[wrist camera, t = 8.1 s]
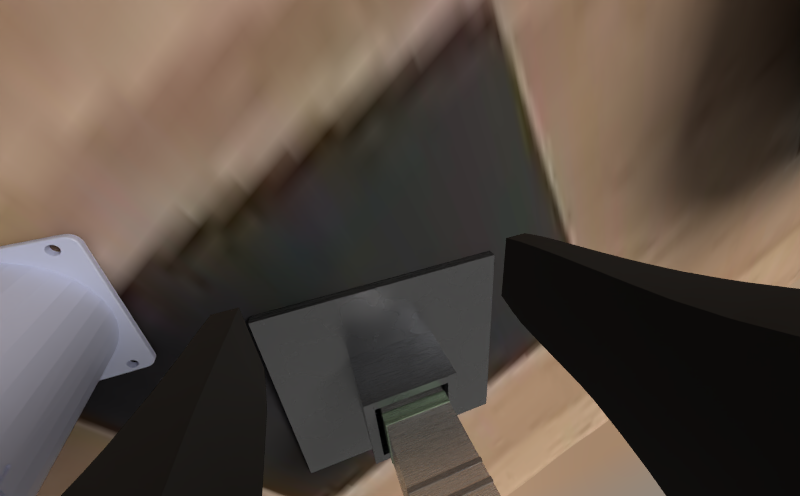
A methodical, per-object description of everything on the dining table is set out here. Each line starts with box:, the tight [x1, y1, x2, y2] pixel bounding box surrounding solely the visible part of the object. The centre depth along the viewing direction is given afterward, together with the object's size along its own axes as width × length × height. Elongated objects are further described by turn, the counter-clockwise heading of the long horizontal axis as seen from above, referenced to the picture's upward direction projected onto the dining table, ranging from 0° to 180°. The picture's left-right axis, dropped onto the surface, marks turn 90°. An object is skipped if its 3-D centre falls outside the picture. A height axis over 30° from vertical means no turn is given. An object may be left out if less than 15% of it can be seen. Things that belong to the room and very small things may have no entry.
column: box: [380, 385, 500, 496], centre depth 19 cm, size 4×4×8 cm
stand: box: [248, 251, 495, 473], centre depth 23 cm, size 16×16×5 cm
